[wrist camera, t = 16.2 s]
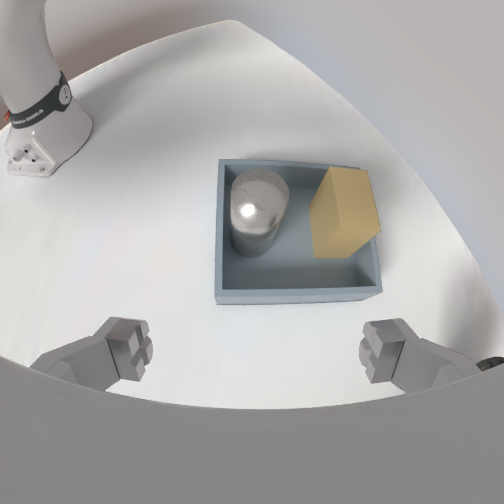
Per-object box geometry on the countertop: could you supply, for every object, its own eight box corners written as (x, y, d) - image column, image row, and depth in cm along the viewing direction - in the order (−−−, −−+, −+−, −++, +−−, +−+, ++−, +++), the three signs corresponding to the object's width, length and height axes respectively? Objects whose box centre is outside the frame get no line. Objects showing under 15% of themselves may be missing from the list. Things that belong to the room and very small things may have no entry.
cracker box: (314, 258, 37) (340, 229, 28) (308, 206, 40) (329, 166, 31) (347, 258, 38) (380, 230, 28) (339, 207, 40) (366, 170, 31)
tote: (217, 304, 35) (214, 296, 29) (219, 183, 41) (218, 159, 35) (361, 300, 37) (382, 292, 31) (345, 188, 43) (359, 168, 37)
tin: (229, 257, 36) (230, 217, 25) (230, 219, 38) (231, 167, 27) (272, 258, 37) (291, 218, 26) (270, 219, 39) (287, 169, 27)
